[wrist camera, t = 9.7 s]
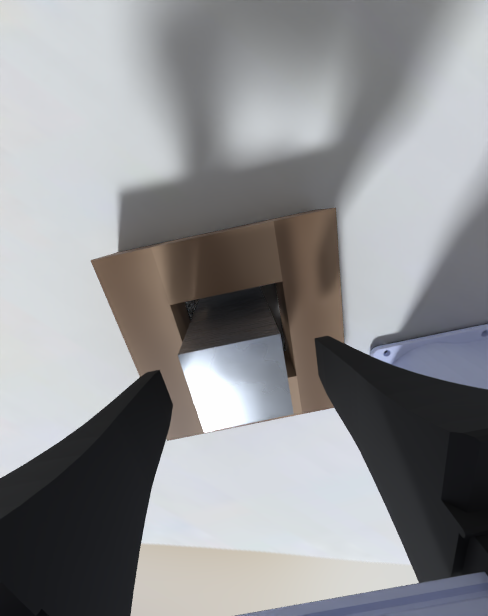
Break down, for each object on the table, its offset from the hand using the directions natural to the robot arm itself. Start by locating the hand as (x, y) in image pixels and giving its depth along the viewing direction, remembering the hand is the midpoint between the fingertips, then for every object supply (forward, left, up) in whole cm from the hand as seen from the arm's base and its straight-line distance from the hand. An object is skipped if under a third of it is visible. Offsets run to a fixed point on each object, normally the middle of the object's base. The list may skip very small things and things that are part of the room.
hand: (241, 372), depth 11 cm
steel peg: (0, 0, -6) cm, 6 cm away
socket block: (0, 0, -6) cm, 6 cm away
